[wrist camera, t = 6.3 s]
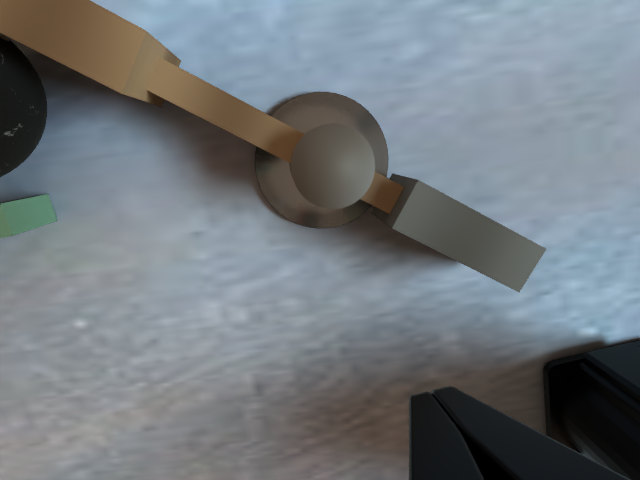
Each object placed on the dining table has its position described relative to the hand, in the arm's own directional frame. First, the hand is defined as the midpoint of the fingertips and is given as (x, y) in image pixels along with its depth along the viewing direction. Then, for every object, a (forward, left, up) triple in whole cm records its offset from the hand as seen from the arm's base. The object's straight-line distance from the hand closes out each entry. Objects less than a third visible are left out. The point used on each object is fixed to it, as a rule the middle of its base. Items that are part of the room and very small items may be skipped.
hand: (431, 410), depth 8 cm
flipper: (+5, +1, -11) cm, 13 cm away
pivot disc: (+4, 0, -12) cm, 13 cm away
